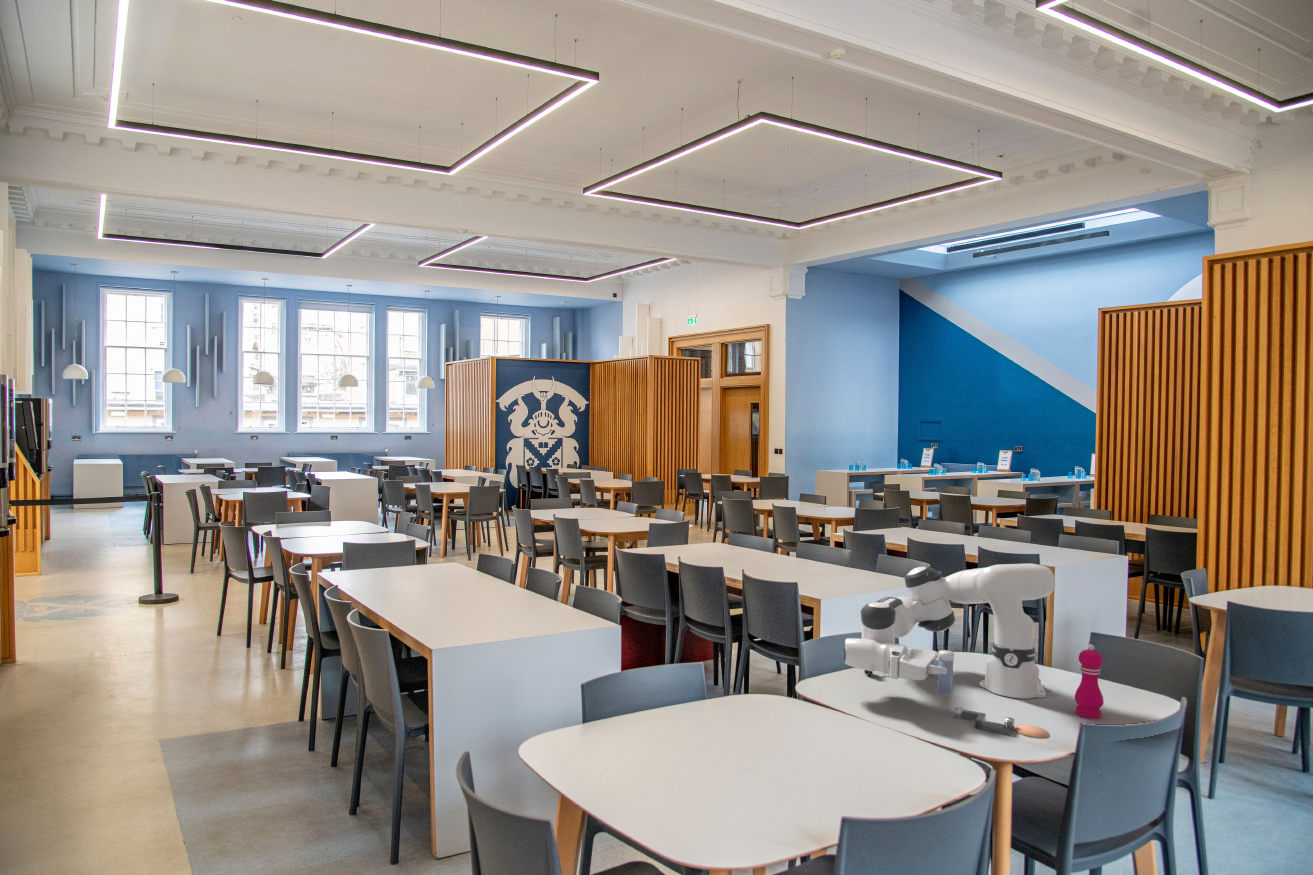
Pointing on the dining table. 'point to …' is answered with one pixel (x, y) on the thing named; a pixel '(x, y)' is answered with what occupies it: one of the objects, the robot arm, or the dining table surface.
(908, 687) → the dining table surface
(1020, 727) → the coaster
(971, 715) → the rail
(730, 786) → the dining table surface
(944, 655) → the shaker
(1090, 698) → the pepper mill
